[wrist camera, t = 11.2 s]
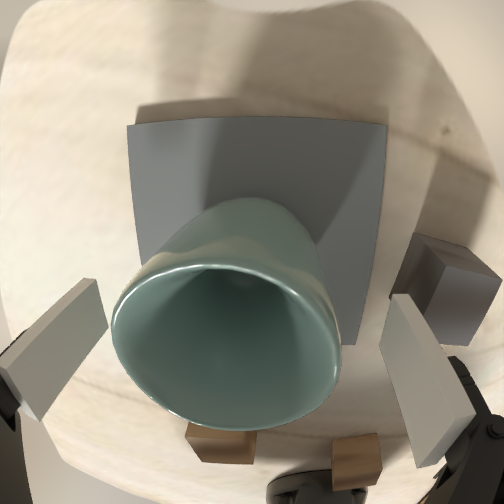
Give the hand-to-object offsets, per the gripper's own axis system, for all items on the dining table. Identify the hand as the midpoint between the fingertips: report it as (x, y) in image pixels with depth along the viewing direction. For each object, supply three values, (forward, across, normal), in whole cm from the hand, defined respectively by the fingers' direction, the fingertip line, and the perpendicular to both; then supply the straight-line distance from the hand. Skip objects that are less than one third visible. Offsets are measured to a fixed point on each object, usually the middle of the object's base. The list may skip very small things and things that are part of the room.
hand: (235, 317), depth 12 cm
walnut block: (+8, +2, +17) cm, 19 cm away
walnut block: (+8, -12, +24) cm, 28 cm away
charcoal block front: (+8, -13, +1) cm, 15 cm away
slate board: (+8, 0, -1) cm, 8 cm away
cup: (+7, 0, -1) cm, 7 cm away
